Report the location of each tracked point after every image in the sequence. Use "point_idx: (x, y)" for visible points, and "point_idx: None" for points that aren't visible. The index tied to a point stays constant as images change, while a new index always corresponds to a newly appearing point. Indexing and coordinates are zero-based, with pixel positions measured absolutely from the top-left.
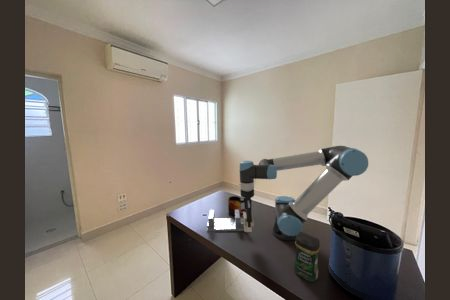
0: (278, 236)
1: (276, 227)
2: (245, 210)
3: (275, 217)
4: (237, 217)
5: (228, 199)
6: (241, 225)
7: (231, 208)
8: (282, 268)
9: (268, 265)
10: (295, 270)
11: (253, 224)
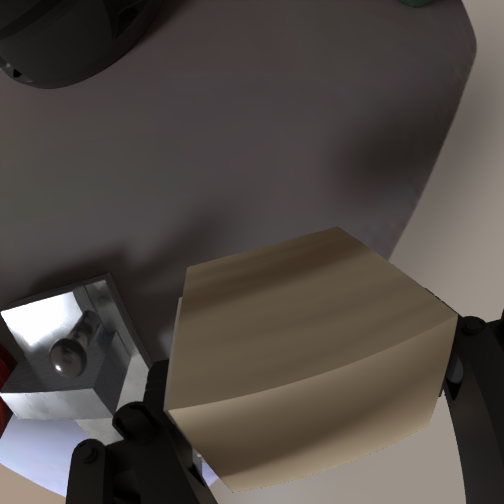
0: (142, 25)
1: (91, 22)
2: (214, 500)
3: (15, 15)
4: (100, 404)
5: None
6: (98, 330)
7: (5, 415)
8: (406, 48)
9: (407, 111)
10: (423, 4)
11: (386, 262)
